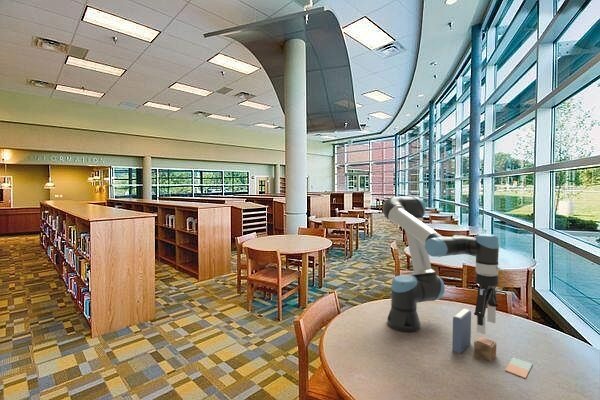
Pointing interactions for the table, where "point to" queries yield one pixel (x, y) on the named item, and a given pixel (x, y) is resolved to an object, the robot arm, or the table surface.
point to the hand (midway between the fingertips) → (486, 327)
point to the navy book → (461, 330)
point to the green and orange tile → (517, 370)
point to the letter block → (485, 348)
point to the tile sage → (521, 363)
